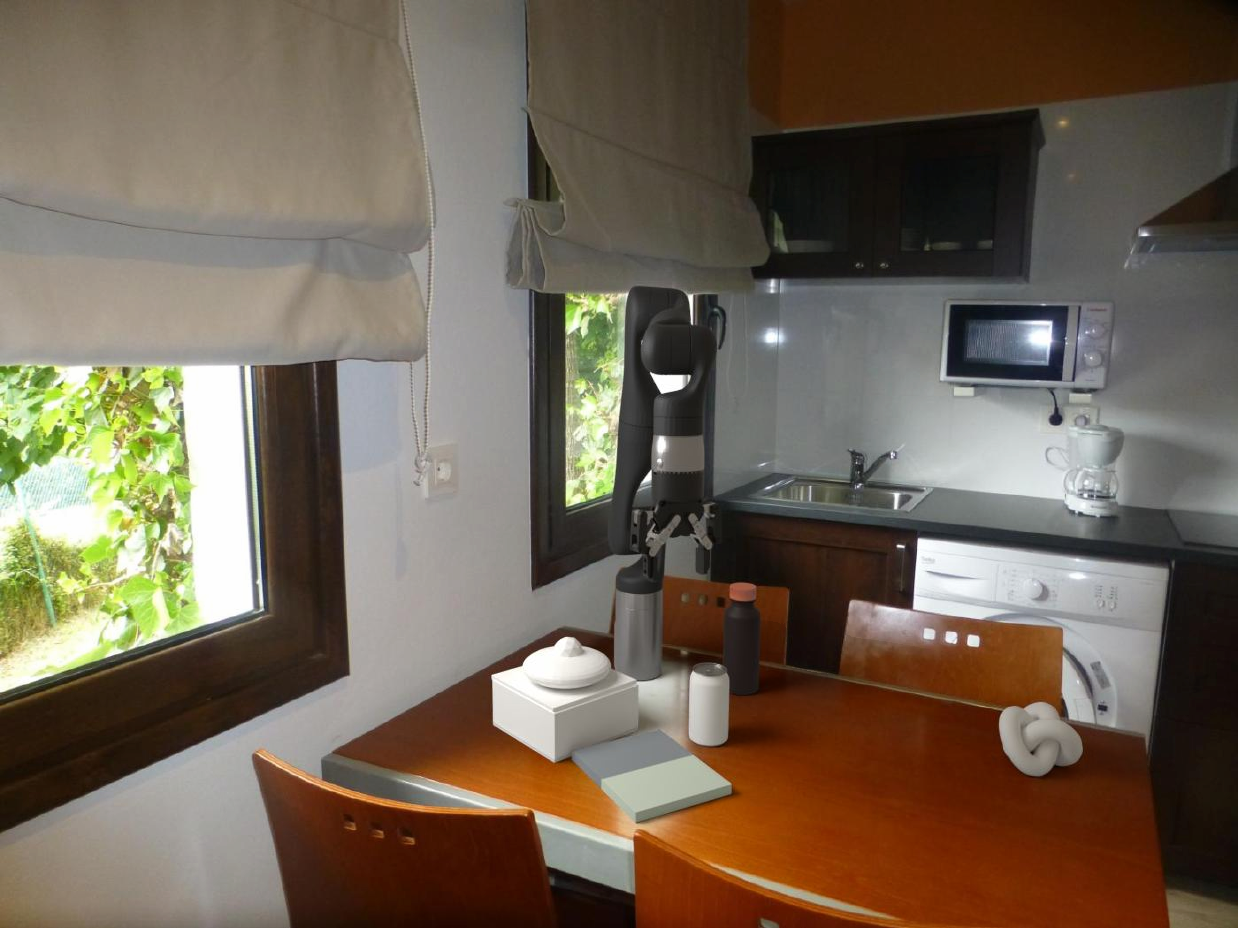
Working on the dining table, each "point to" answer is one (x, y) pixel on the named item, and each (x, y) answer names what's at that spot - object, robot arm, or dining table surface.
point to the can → (709, 704)
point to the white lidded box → (564, 700)
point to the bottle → (742, 640)
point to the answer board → (650, 774)
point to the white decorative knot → (1038, 738)
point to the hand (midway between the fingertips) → (676, 577)
